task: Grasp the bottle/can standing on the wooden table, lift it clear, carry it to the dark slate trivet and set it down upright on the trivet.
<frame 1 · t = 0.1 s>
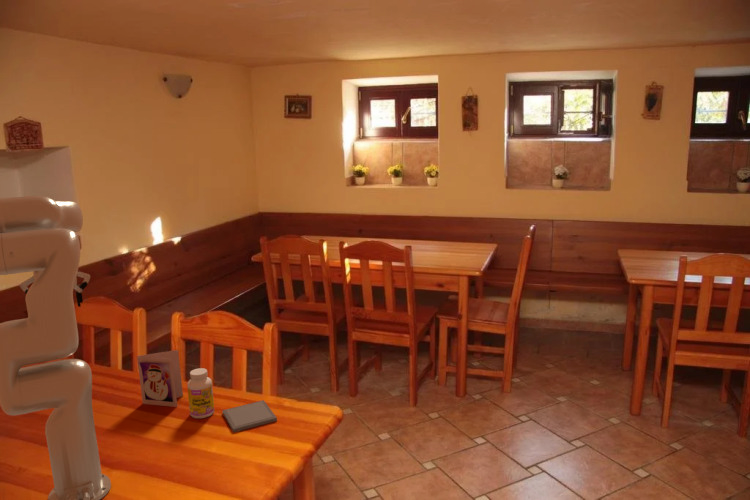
hand: (60, 308, 166), 31 cm above the table, fingers open, 9 cm apart
slate trivet: (249, 417, 166), on the table
supplement bottle: (202, 414, 169), on the table
greeting card: (165, 401, 177), on the table
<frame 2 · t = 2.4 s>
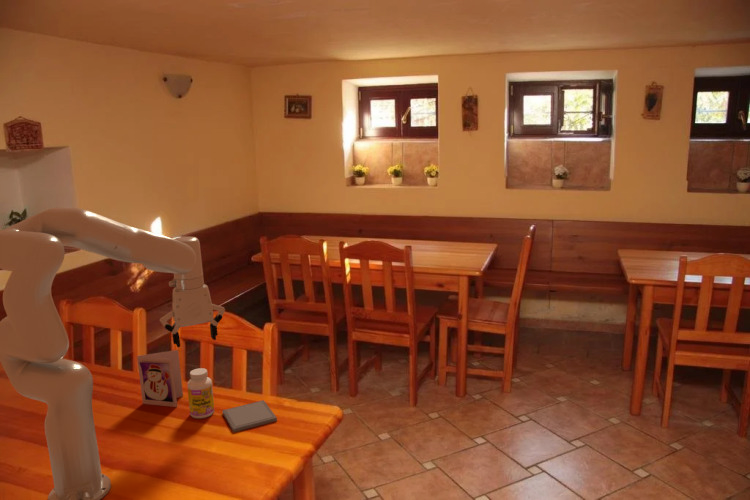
hand: (196, 342, 164), 21 cm above the table, fingers open, 9 cm apart
nothing on the table moved.
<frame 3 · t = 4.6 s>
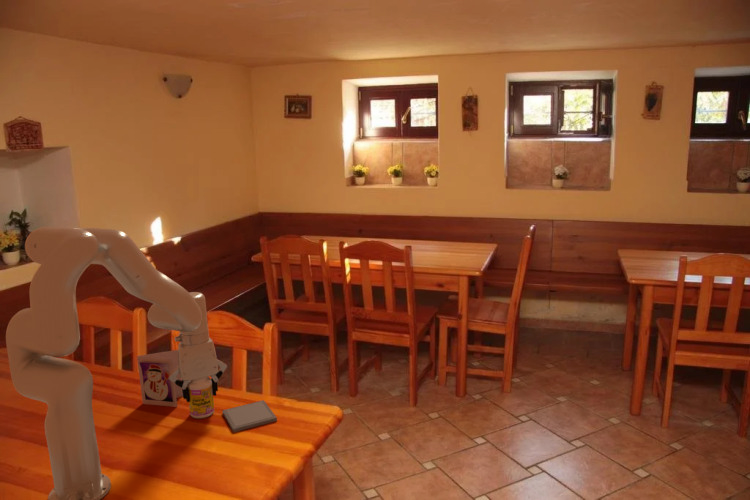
hand: (200, 396, 167), 5 cm above the table, fingers closed on supplement bottle, 6 cm apart
supplement bottle: (202, 414, 169), on the table, touching gripper
everything else where it was.
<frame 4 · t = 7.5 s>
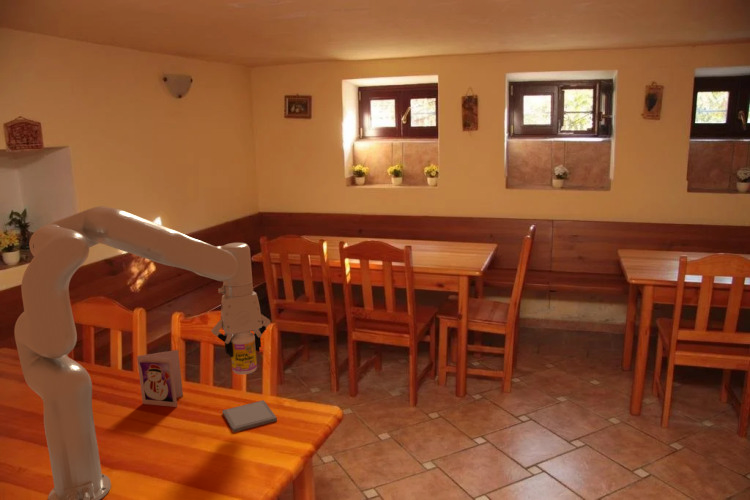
hand: (243, 352, 161), 19 cm above the table, fingers closed on supplement bottle, 6 cm apart
supplement bottle: (245, 370, 163), point 14 cm above the table, touching gripper
everything else where it was.
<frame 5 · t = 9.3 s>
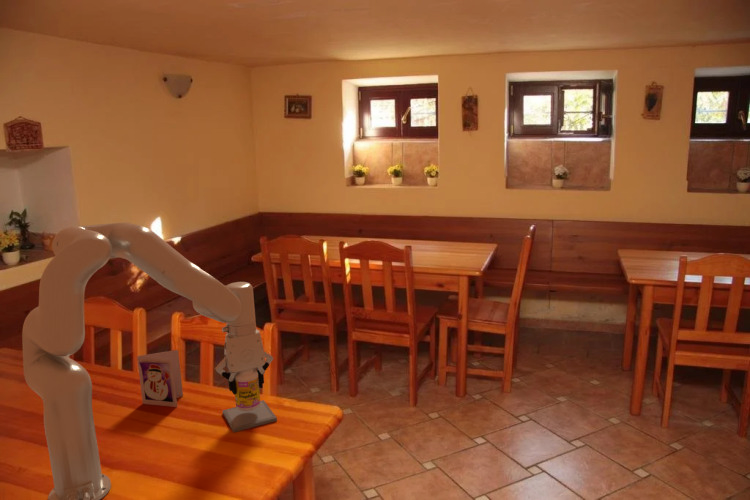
hand: (247, 388, 164), 9 cm above the table, fingers closed on supplement bottle, 6 cm apart
supplement bottle: (248, 406, 165), point 3 cm above the table, touching gripper
everything else where it was.
when the fingers open (7 cm above the table, at t = 10.6 s): supplement bottle stays where it is, resting on slate trivet.
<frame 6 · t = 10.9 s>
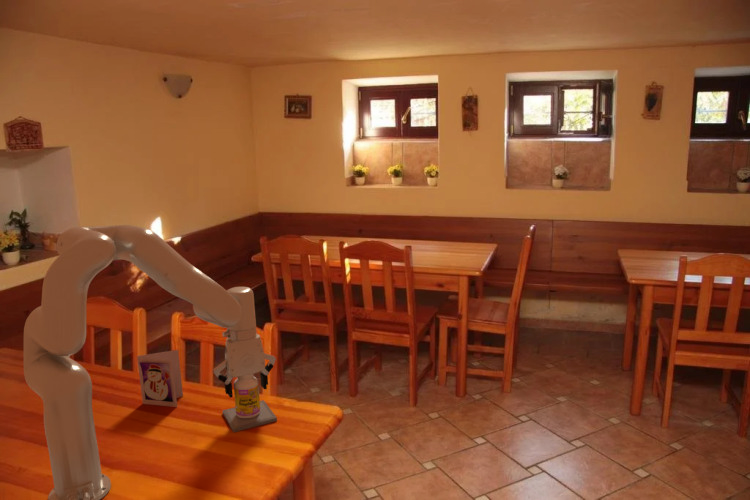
hand: (247, 391, 164), 8 cm above the table, fingers open, 9 cm apart
supplement bottle: (248, 414, 165), point 1 cm above the table, touching slate trivet
everything else where it was.
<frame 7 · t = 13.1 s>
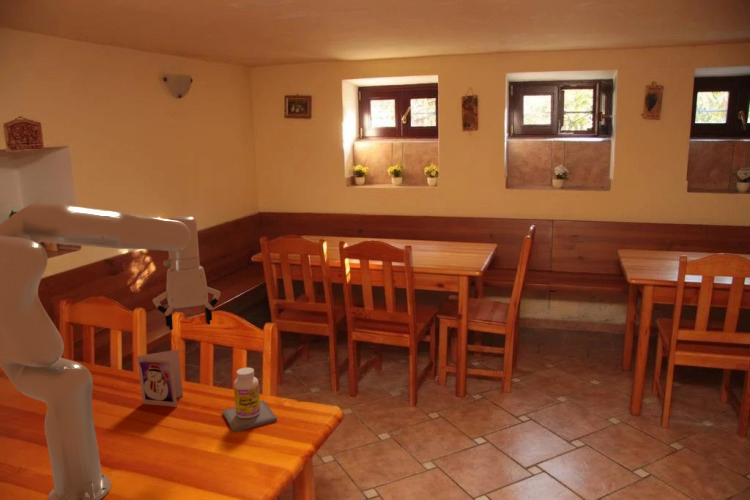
hand: (189, 325, 159), 28 cm above the table, fingers open, 9 cm apart
nothing on the table moved.
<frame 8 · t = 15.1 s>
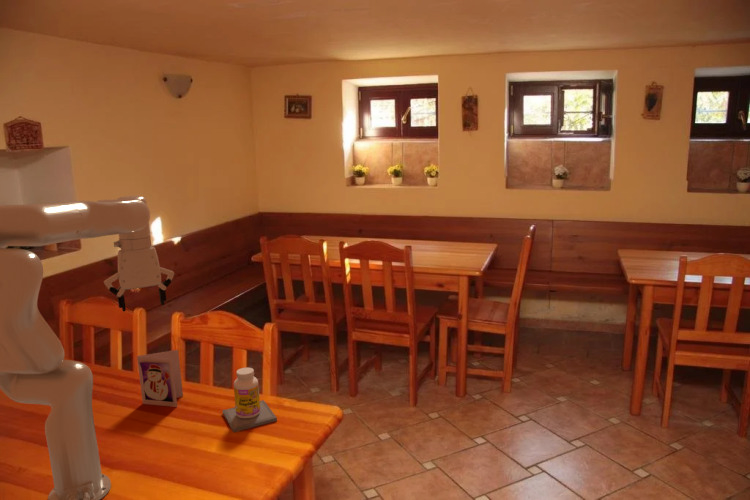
hand: (143, 306, 158), 33 cm above the table, fingers open, 9 cm apart
nothing on the table moved.
at the end: supplement bottle inside the target area on the slate trivet (0.2 cm from its centre), point 0.9 cm above the slate trivet's base; supplement bottle tilted 0°; the gripper is holding nothing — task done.
